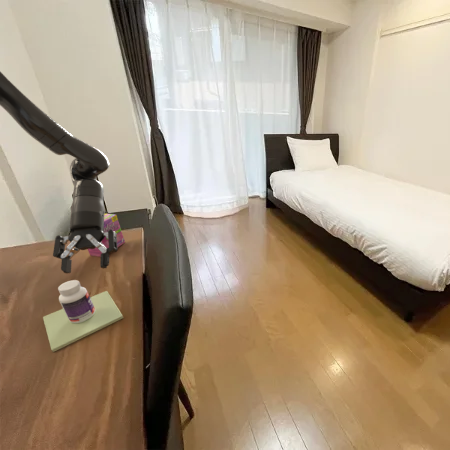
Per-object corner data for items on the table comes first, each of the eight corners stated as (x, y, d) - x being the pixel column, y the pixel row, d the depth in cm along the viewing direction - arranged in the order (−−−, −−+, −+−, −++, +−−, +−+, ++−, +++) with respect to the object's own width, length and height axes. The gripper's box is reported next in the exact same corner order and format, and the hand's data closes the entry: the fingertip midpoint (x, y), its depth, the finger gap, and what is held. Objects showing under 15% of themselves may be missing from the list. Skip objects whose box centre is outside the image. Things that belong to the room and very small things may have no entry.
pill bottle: (100, 313, 69) (87, 282, 65) (75, 327, 65) (60, 295, 61) (89, 305, 72) (76, 275, 67) (65, 318, 67) (49, 287, 63)
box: (104, 257, 94) (92, 227, 88) (89, 256, 94) (77, 225, 89) (126, 242, 103) (116, 214, 98) (112, 241, 104) (102, 213, 98)
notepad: (52, 352, 60) (51, 350, 59) (43, 319, 68) (42, 316, 68) (123, 318, 69) (122, 315, 68) (107, 292, 77) (106, 290, 77)
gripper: (49, 212, 73) (44, 272, 68) (110, 207, 76) (109, 263, 71) (66, 222, 79) (62, 276, 75) (121, 216, 83) (121, 268, 78)
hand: (85, 270), depth 73 cm, fingers open, 8 cm apart
